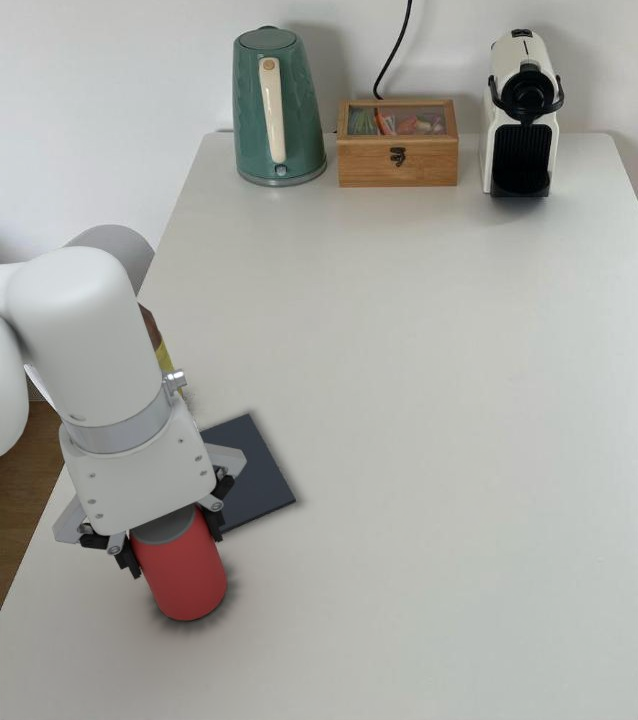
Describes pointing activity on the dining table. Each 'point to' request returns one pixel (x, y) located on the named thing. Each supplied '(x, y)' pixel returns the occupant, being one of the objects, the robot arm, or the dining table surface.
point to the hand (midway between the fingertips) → (174, 546)
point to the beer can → (180, 562)
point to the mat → (249, 473)
